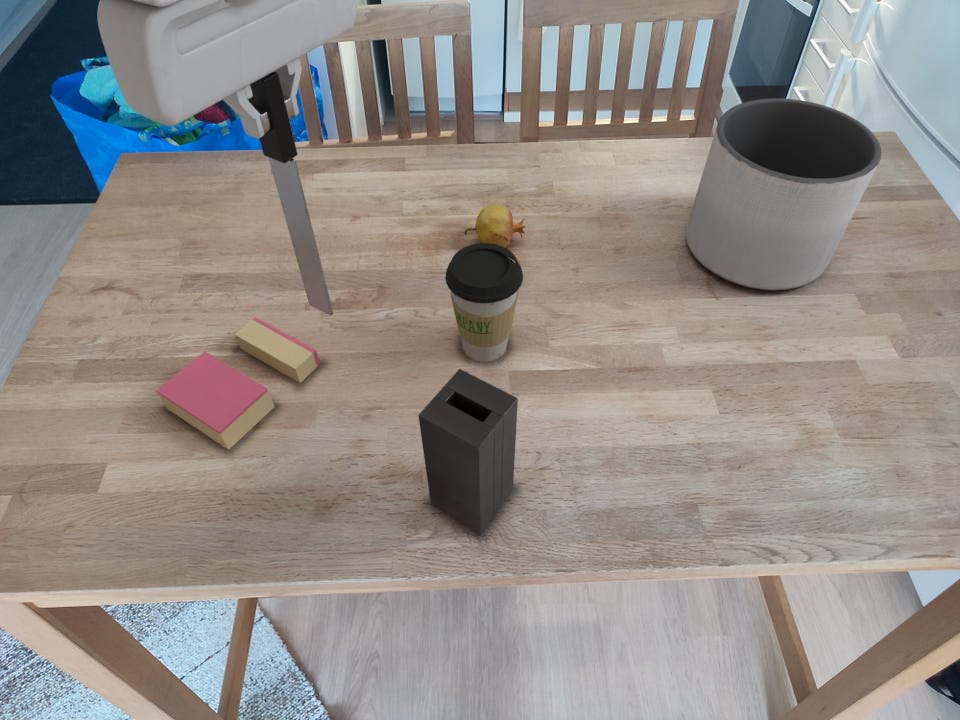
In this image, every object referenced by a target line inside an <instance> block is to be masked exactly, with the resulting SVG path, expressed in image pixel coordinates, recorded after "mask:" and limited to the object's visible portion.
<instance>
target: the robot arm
mask: <svg viewBox="0 0 960 720" xmlns="http://www.w3.org/2000/svg"><path fill="white" fill-rule="evenodd" d="M357 5H358V4H357V0H99V1H98V5H97V13H96V14H97V26H98V30H99V34H100V38H101V42H102V44H103V47H104V51H105V53H106V57H107V60H108V62H109V65H110V68H111V71H112V73H113V77H114V79H115V81H116V84H117V86H118V88H119V91H120V93H121V96H122V97H123V99H124V101H125V103H126V104H127V106H128V107H129V108H130V109H131V110H133V112H136V113H137V114H139V115H140V116H142V117H144V118H146V119H148V120H150V121H153V122H156V123H159V124H161V125H164V126H167V127H175V126H177V125H180V124H181V123H184V121H186V120H189V119H190V118H192V117H193V116H195V115H197V114H200V113H201V112H203V111H204V110H207V109H208V108H210V107H212V106H213V105H216V104H217V103H219V102H221V101H223V102H224V103H226V105H228V106H229V107H230V108H231V109H232V110H233V111H234V112H235V113H236V114H238V115H239V119H240V122H241V124H242V129H243V131H244V132H245V134H246V135H247V136H249V137H251V138H255V139H256V140H259V138H261V137H262V136H264V135H266V134H267V133H269V132H270V131H272V129H273V127H272V124H271V123H270V120H271V119H270V116H269V112H268V111H266V110H263V109H259V108H258V107H255V106H252V105H251V104H250V102H249V101H248V99H250V98H251V97H252V96H253V94H252V90H251V86H250V84H252V83H254V82H255V81H257V80H259V79H261V78H263V77H265V76H266V75H268V74H270V73H272V72H277V73H278V75H279V79H280V84H281V88H282V92H283V96H284V100H285V104H286V108H287V113H288V117H289V121H291V119H293V118H295V117H297V116H299V114H300V109H299V105H298V100H297V96H296V95H298V90H299V85H300V81H301V76H302V71H303V68H302V63H301V57H303V56H305V55H306V54H309V53H310V52H312V51H314V50H316V49H317V48H319V47H321V46H323V45H325V44H326V43H328V42H330V41H332V40H334V39H335V38H337V37H339V36H341V35H343V34H344V33H348V32H349V31H351V30H352V29H353V28H354V26H355V23H356V19H357V15H358V6H357Z"/></svg>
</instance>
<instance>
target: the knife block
mask: <svg viewBox="0 0 960 720" xmlns="http://www.w3.org/2000/svg"><path fill="white" fill-rule="evenodd" d="M518 402H519V398H518V397H517V396H514V395H513V394H510V393H508V392H507V391H505V390H502V389H501V388H498V387H497V386H494V385H493V384H492V383H489V382H487V381H485V380H483V379H481V378H479V377H477V376H476V375H473V374H471V373H470V372H467V371H465V370H464V369H462V368H458V370H457V371H456V372H455V373H454V374H453V375H452V376H451V378H450V379H449V380H448V381H447V382H446V383H445V384H444V386H443V387H441V389H440V390H439V391H438V392H437V393H436V395H435V396H434V397H432V399H431V400H430V401H429V402H428V403H427V404H426V406H425V407H424V408H423V409H422V410H421V411H420V413H419V414H418V415H417V416H418V422H419V430H420V436H421V437H420V438H421V445H422V451H423V452H422V453H423V458H424V465H425V473H426V480H427V487H428V495H429V503H430V506H431V507H433V508H434V509H436V510H437V511H438V512H440V513H442V514H444V515H446V516H447V517H448V518H450V519H452V520H454V521H455V522H457V523H459V524H460V525H462V526H463V527H465V528H467V529H468V530H470V531H471V532H473V533H475V534H476V535H478V536H483V533H484V532H485V531H486V529H487V528H488V526H489V525H490V524H491V523H492V521H493V520H494V518H495V516H496V515H497V513H498V512H499V511H500V509H501V508H502V507H503V505H505V502H506V501H507V499H508V498H509V497H510V495H511V494H512V492H513V491H514V478H515V477H514V476H515V475H514V474H515V458H516V439H517V421H518Z"/></svg>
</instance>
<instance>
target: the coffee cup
mask: <svg viewBox="0 0 960 720" xmlns="http://www.w3.org/2000/svg"><path fill="white" fill-rule="evenodd" d="M445 270H446V271H445V277H444V279H445V283H446V285H447V288H448V289H449V291H450V298H451V302H452V307H453V312H454V317H455V321H456V325H457V331H458V333H459V336H460V339H461V344H462V349H463V351H464V353H465V355H466V356H467V357H468V358H469V359H471V360H473V361H476V362H481V363H483V362H484V363H487V362H493V361H497V360H498V359H499V358H501V357H502V356H503V355H504V354H505V352H506V351H507V345H508V341H509V336H510V334H511V331H512V326H513V322H514V316H515V312H516V307H517V303H518V297H519V290H520V288H521V287H522V284H523V281H524V273H523V269H522V266H521V264H520V262H519V261H518V259H517V257H516V255H515V253H513V252H512V251H511V250H509V249H508V248H507V247H506V248H505V247H503V246H500V245H497V244H491V243H481V242H477V243H473V244H469V245H466V246H464V247H462V248H460V249H459V250H458V251H457V252H455V253H454V255H453V256H452V258H451V260H450V262H449V263H448V265H447V268H446V269H445Z"/></svg>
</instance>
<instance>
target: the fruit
mask: <svg viewBox="0 0 960 720" xmlns="http://www.w3.org/2000/svg"><path fill="white" fill-rule="evenodd" d="M524 221H525V217H523V218H522V219H521V221H520V222H514V219H513V213H512V211H511V210H510V209H509V208H508V207H506V206H504V205H502V204H490V205H488V206H485V207H484V208H482V209H481V210H480V211H479V213H478V214H477V217H476V221H475V226H474V228H473V227H468V228H466V229H465V230H464V232H463V233H464V235H465V236H467V235H468V232H470V231H475V233H476V236H477V238H478V240H479V243H491V244H497V245H500V246H503V247H505V248H507V247H508V246H509V245H510V244H511V241H512V237H513V235H514V234H515V233H519V234H520V237H521V238H522V239H523V235H526V232H525V230H524V229H525V228H527V226H526V225H524V224H523V223H524Z"/></svg>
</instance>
